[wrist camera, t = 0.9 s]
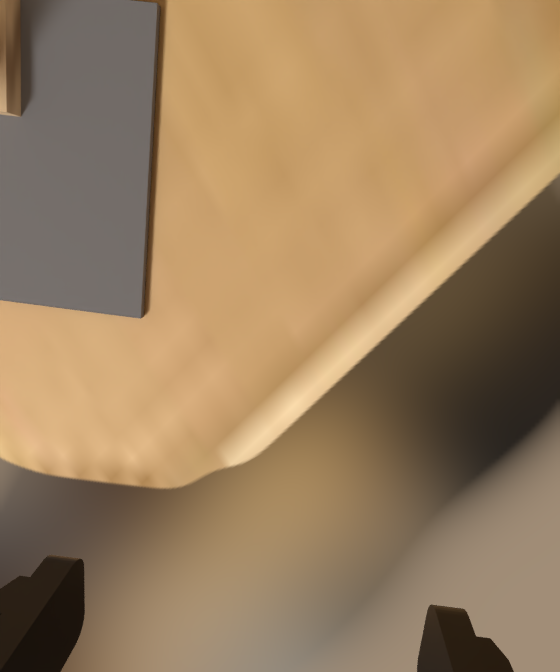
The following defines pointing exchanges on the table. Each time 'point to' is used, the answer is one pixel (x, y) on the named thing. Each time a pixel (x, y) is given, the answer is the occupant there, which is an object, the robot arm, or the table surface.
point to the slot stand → (10, 58)
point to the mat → (80, 157)
